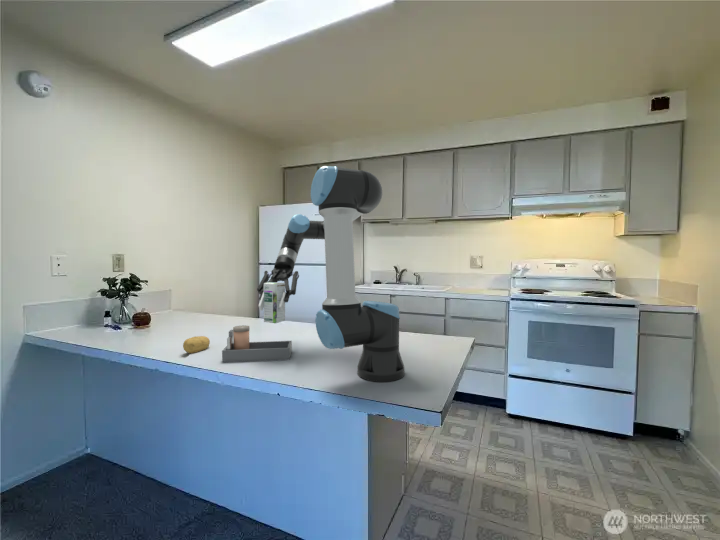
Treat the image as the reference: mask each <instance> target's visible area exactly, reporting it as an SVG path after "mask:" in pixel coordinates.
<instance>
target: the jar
mask: <svg viewBox="0 0 720 540" xmlns="http://www.w3.org/2000/svg"><path fill="white" fill-rule="evenodd" d="M232 330H233V331H234V350H241V349H250V343H249V342H250V325H236V326H233V328H232Z"/></svg>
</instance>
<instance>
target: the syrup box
mask: <svg viewBox="0 0 720 540" xmlns="http://www.w3.org/2000/svg"><path fill="white" fill-rule="evenodd" d="M283 292H286V291H285V283H284V282H267V283H264V308H263V323H270V324H279V323H281V322H285V321H286V305H285V306H284V309H283V311H281V310H280V308H279V305H280V302H281V298H282V295H283Z"/></svg>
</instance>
